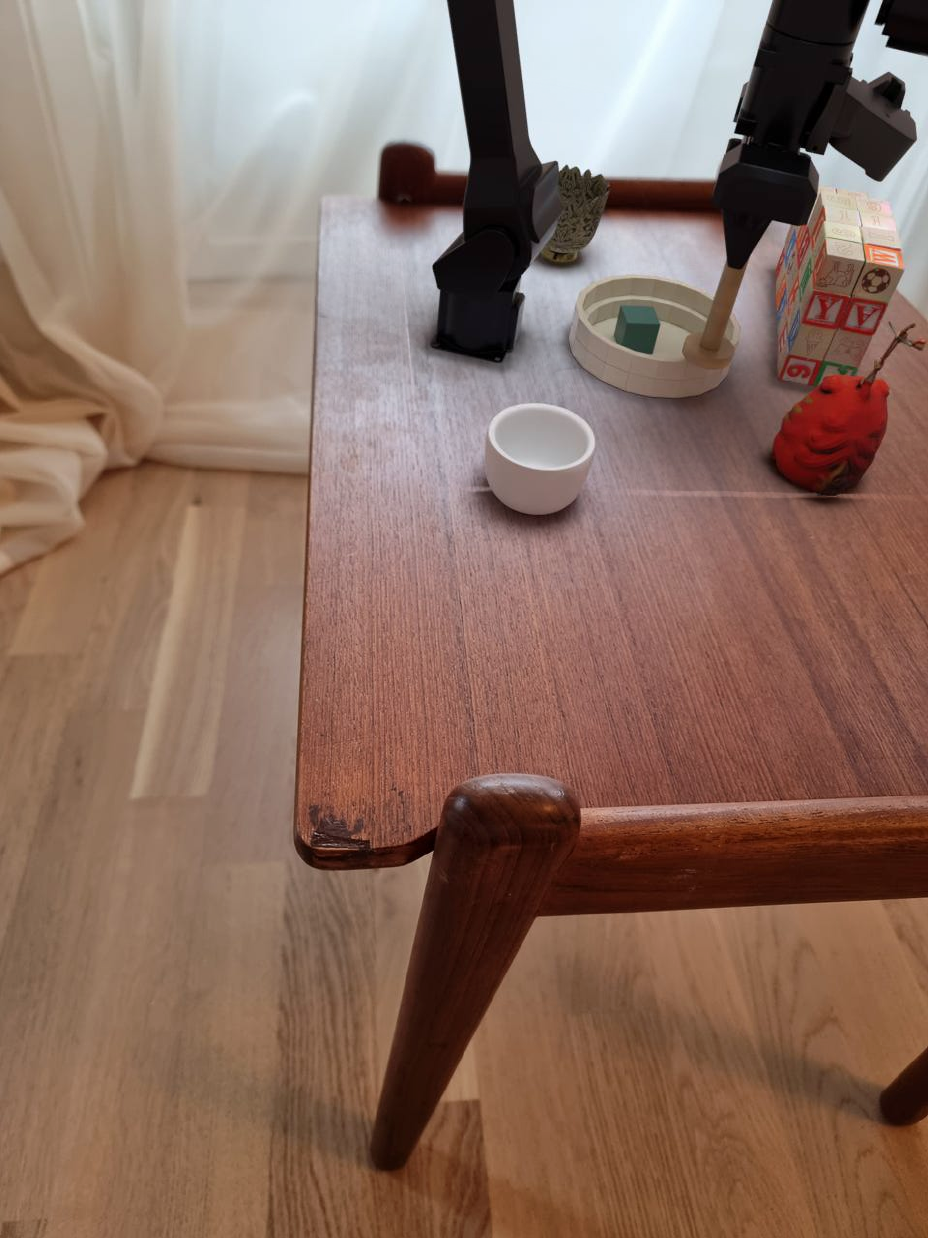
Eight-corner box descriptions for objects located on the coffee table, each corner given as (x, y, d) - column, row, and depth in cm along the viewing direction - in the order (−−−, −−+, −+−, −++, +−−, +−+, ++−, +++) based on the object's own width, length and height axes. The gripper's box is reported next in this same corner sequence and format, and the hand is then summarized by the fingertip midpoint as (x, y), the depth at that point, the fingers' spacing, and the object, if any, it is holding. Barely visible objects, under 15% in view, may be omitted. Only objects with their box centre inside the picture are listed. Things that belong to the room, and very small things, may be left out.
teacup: (562, 543, 69) (575, 483, 65) (462, 508, 71) (470, 448, 67) (604, 466, 76) (618, 407, 72) (512, 435, 77) (521, 376, 74)
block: (619, 353, 86) (627, 322, 84) (613, 334, 88) (620, 304, 86) (652, 354, 87) (660, 324, 85) (645, 336, 89) (653, 306, 87)
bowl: (554, 380, 83) (562, 338, 81) (583, 301, 93) (591, 261, 90) (719, 418, 82) (734, 377, 79) (732, 334, 92) (745, 294, 89)
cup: (524, 237, 101) (536, 158, 95) (595, 248, 101) (611, 169, 95) (517, 272, 96) (529, 190, 90) (592, 284, 95) (608, 202, 90)
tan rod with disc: (678, 362, 78) (723, 214, 69) (685, 337, 81) (728, 192, 72) (728, 374, 78) (779, 227, 69) (733, 349, 80) (783, 204, 72)
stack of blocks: (772, 271, 101) (815, 148, 92) (833, 283, 100) (882, 160, 91) (775, 384, 86) (827, 251, 77) (847, 398, 86) (907, 266, 77)
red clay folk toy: (840, 447, 81) (919, 277, 70) (876, 503, 76) (967, 330, 65) (753, 448, 79) (820, 275, 68) (784, 505, 75) (862, 329, 64)
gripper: (948, 105, 55) (841, 350, 66) (933, 15, 67) (845, 234, 79) (750, 63, 56) (678, 311, 67) (772, -17, 69) (709, 203, 80)
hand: (735, 261), depth 73 cm, fingers closed on tan rod with disc, 2 cm apart
